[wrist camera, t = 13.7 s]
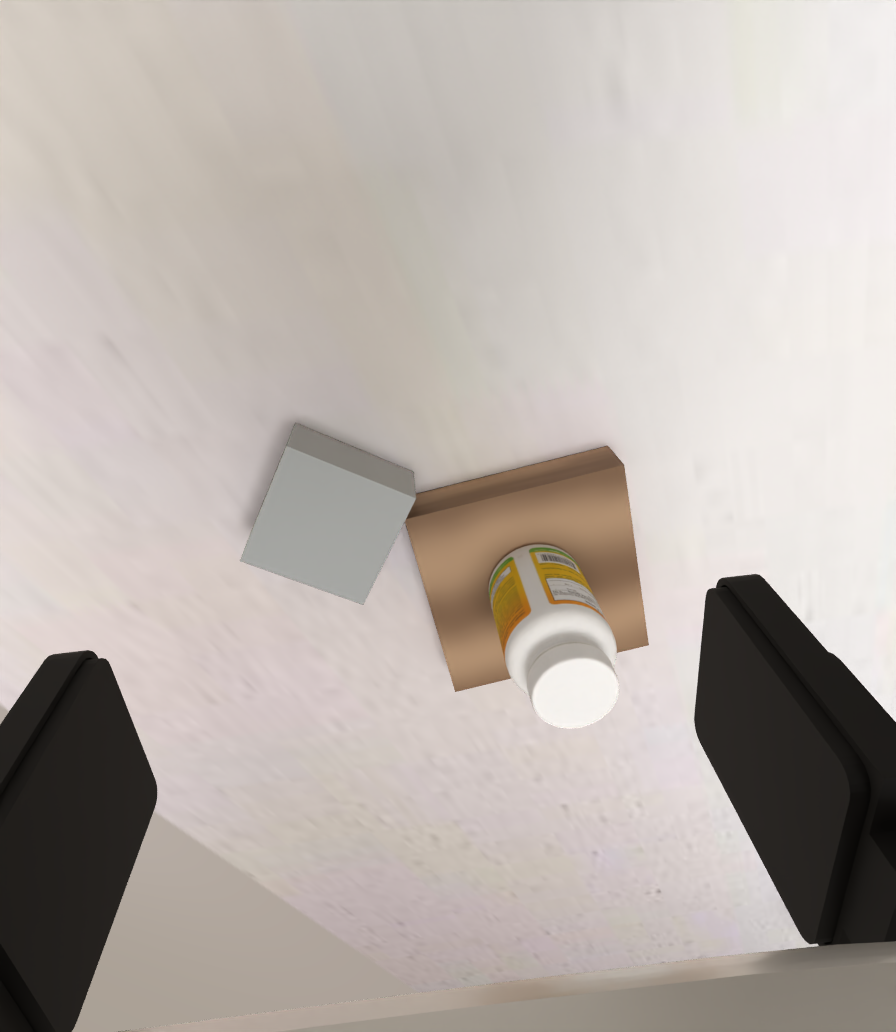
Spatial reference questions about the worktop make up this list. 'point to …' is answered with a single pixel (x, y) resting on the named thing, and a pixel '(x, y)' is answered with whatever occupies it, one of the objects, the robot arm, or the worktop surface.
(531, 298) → the worktop surface
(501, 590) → the supplement bottle
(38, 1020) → the robot arm
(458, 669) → the walnut block
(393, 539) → the slate block
